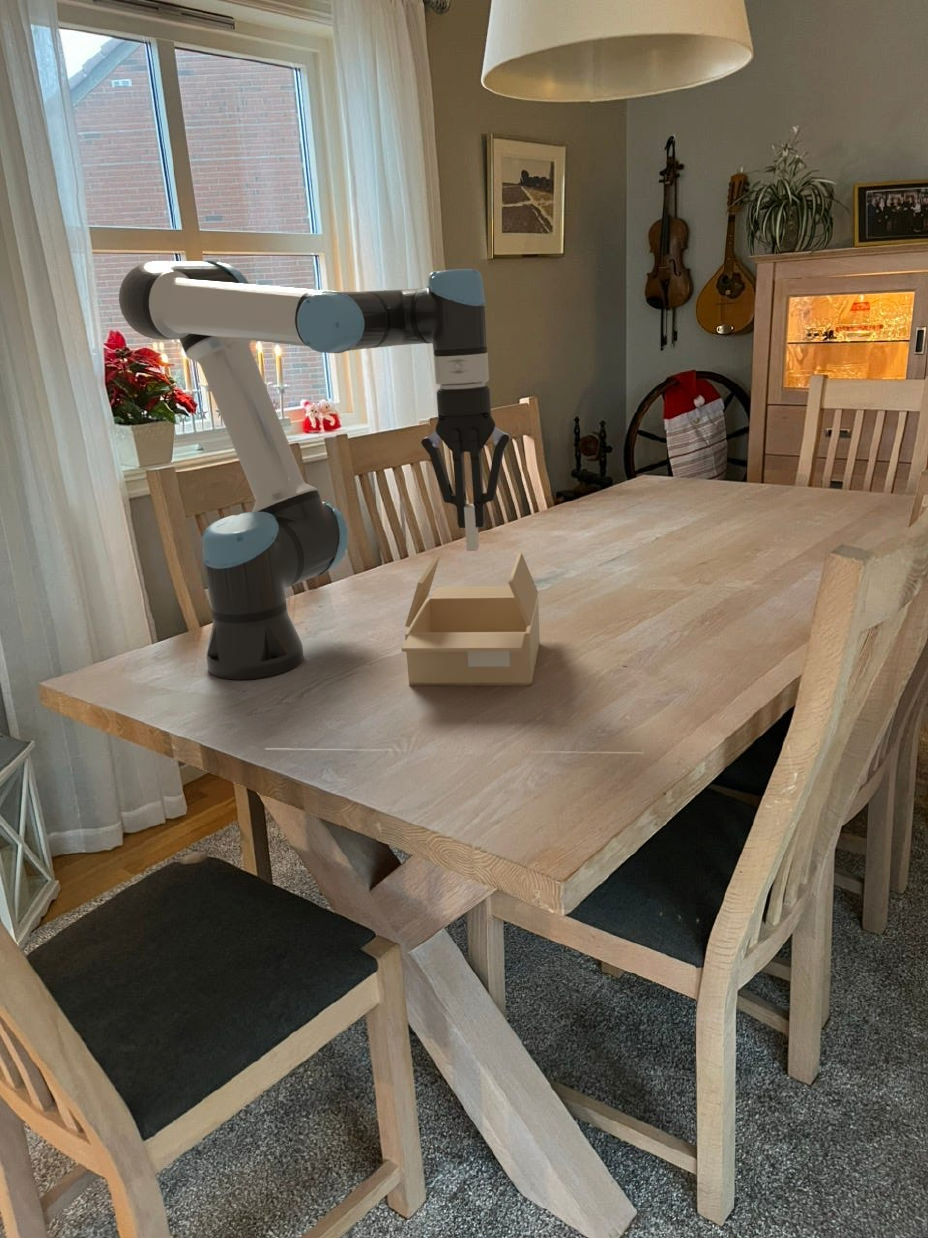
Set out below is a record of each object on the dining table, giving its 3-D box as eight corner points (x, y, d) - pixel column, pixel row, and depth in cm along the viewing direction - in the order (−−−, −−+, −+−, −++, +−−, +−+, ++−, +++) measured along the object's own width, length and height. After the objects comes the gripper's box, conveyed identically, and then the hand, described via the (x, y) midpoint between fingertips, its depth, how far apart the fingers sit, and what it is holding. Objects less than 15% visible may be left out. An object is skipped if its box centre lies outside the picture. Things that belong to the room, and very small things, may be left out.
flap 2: (526, 626, 138) (508, 582, 136) (534, 593, 153) (518, 553, 151) (530, 625, 138) (512, 580, 136) (538, 592, 153) (521, 552, 151)
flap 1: (405, 626, 141) (418, 582, 138) (424, 594, 156) (436, 554, 153) (409, 627, 141) (422, 583, 138) (428, 595, 156) (440, 555, 153)
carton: (400, 701, 137) (396, 648, 134) (436, 632, 165) (433, 587, 162) (528, 702, 134) (526, 647, 132) (542, 631, 162) (540, 585, 160)
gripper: (412, 390, 134) (425, 556, 141) (506, 385, 132) (514, 553, 139) (422, 385, 141) (434, 544, 148) (511, 380, 139) (519, 541, 146)
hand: (473, 548), depth 144 cm, fingers closed
